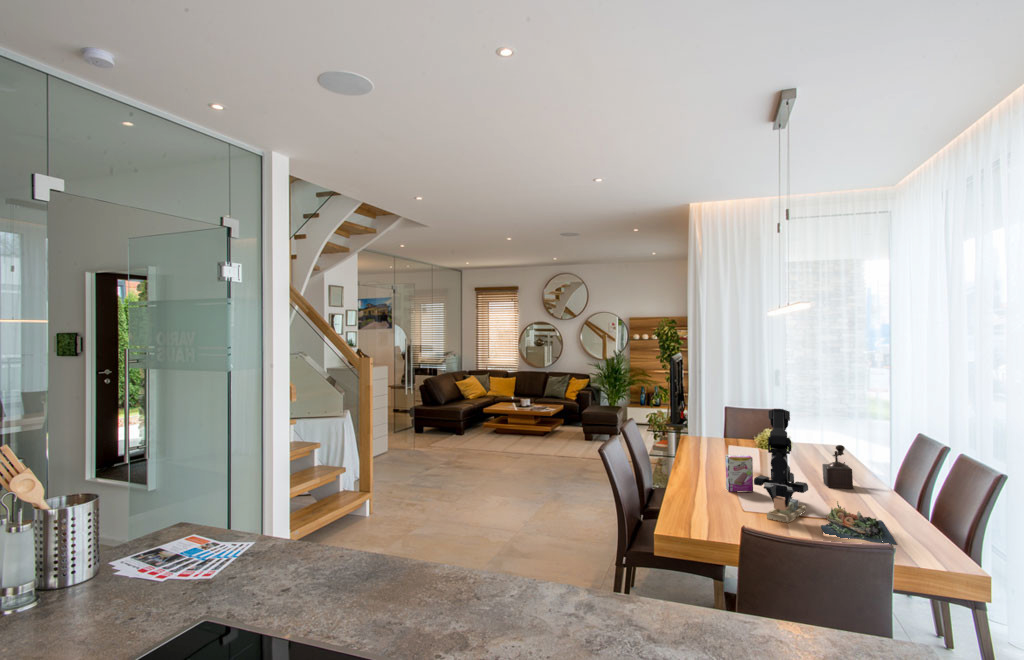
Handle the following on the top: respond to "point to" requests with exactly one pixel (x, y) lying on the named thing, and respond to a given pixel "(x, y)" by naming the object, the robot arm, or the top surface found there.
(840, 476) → the manual coffee grinder
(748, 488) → the candy bar box
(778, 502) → the terracotta block
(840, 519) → the plated dish
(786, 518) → the block frame
